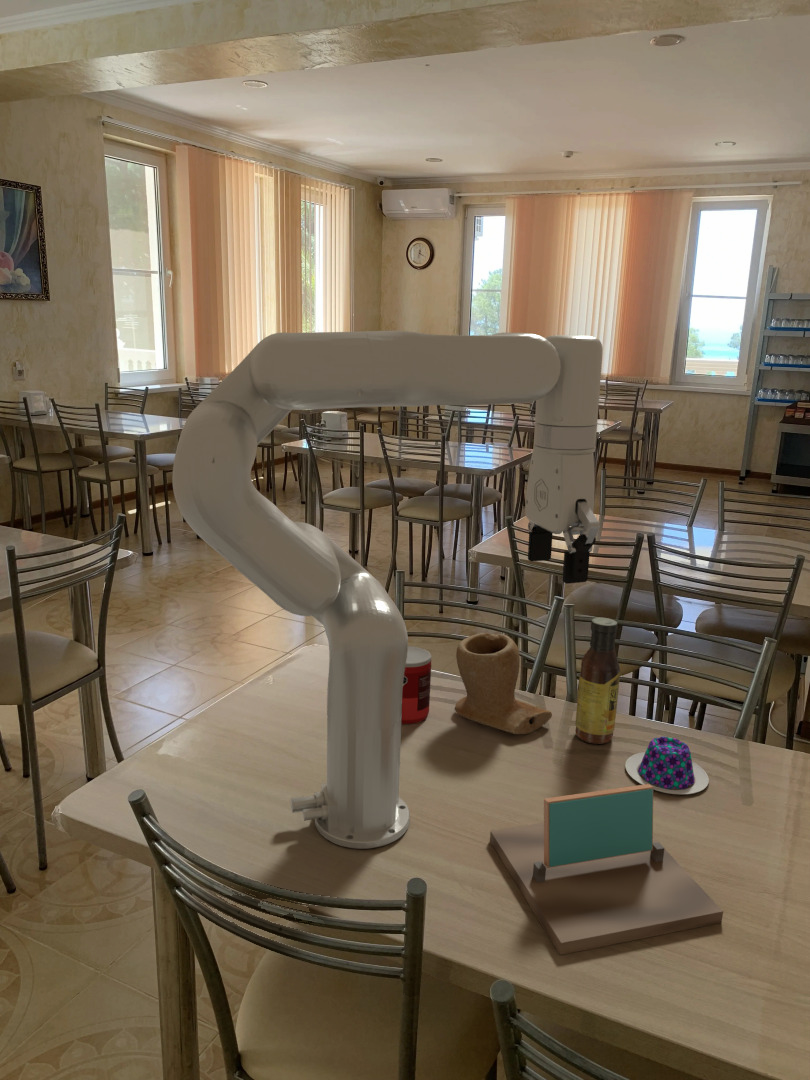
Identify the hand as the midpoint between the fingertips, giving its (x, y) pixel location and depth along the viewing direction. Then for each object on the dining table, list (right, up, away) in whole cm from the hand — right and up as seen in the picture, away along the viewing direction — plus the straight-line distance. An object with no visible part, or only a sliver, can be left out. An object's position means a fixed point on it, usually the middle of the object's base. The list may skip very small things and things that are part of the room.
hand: (556, 570), depth 103 cm
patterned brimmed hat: (+20, -32, +17) cm, 41 cm away
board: (+4, -37, -7) cm, 38 cm away
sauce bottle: (+11, -28, +28) cm, 41 cm away
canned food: (-19, -26, +33) cm, 46 cm away
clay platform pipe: (-4, -27, +31) cm, 42 cm away
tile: (+4, -30, -7) cm, 31 cm away
